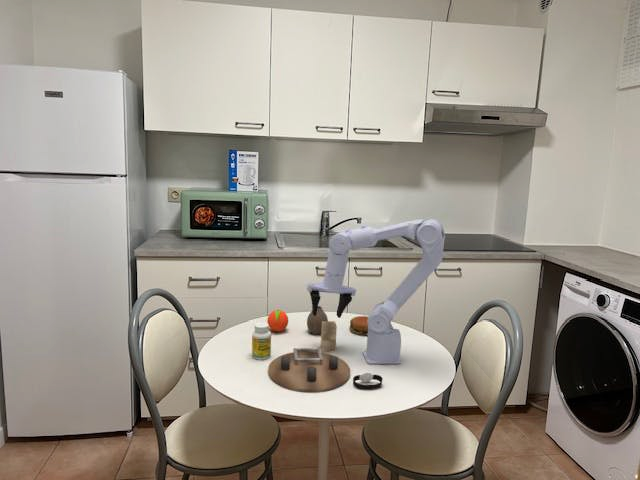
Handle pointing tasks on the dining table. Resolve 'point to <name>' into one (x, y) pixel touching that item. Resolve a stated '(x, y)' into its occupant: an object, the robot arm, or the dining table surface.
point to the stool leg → (328, 336)
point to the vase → (316, 321)
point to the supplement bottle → (261, 341)
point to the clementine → (277, 320)
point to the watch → (366, 378)
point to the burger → (359, 325)
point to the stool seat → (309, 371)
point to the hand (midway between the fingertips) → (326, 315)
